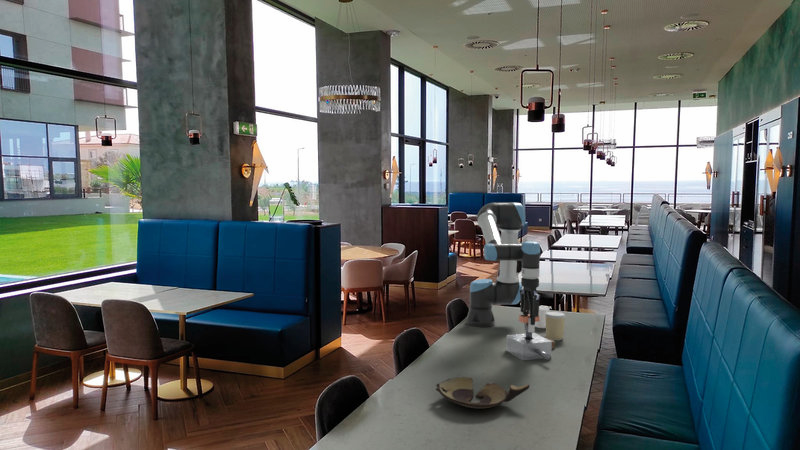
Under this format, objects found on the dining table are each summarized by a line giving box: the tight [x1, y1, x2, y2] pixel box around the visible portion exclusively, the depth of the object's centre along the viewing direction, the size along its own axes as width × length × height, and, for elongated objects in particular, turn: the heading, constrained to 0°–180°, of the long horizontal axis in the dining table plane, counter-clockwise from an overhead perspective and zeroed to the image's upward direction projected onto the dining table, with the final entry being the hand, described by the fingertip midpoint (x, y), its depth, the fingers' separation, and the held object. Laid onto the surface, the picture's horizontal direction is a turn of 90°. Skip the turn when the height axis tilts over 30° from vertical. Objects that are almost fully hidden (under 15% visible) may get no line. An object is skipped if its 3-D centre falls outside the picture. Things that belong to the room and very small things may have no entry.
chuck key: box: [518, 314, 540, 340], centre depth 234 cm, size 3×8×12 cm, turn 107°
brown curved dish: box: [435, 376, 530, 410], centre depth 181 cm, size 22×30×8 cm
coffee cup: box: [545, 311, 566, 341], centre depth 259 cm, size 9×9×12 cm
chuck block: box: [505, 332, 553, 362], centre depth 231 cm, size 23×14×7 cm, turn 17°
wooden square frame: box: [543, 336, 556, 349], centre depth 246 cm, size 8×8×3 cm
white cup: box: [535, 305, 550, 329], centre depth 280 cm, size 8×8×10 cm
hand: (528, 330), depth 234 cm, fingers closed on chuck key, 3 cm apart
